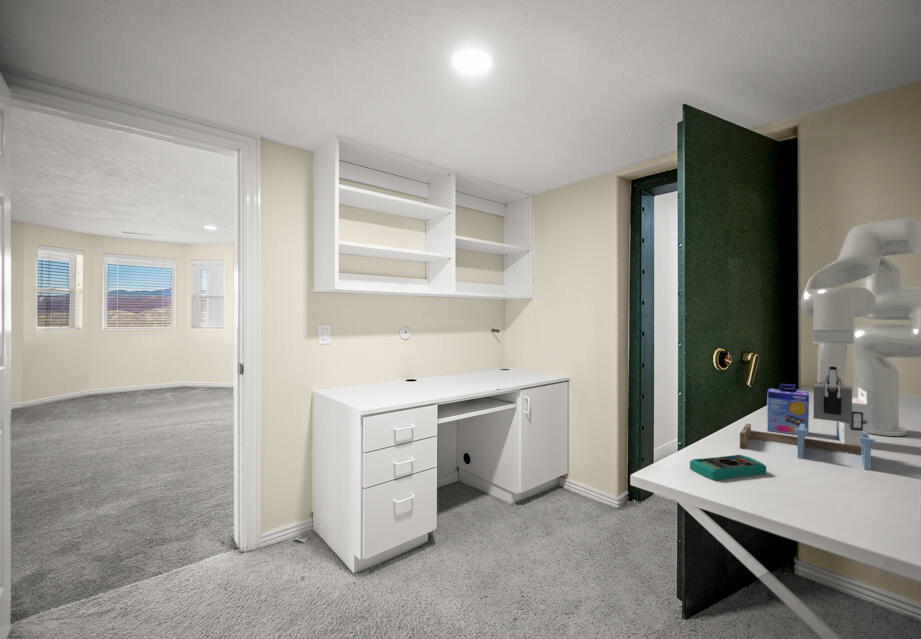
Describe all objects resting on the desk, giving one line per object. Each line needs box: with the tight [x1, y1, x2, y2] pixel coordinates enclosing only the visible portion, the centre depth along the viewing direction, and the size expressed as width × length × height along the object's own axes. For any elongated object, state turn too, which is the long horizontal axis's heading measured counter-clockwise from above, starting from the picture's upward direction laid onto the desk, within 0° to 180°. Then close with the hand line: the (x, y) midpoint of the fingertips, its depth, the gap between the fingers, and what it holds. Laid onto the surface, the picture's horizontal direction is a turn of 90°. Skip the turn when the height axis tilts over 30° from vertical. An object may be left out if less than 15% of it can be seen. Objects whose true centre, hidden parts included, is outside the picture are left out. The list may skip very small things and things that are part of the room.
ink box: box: [836, 387, 867, 446], centre depth 116 cm, size 8×5×15 cm, turn 149°
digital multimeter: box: [689, 454, 767, 481], centre depth 97 cm, size 7×15×3 cm, turn 103°
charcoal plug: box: [813, 383, 853, 423], centre depth 105 cm, size 4×7×8 cm, turn 49°
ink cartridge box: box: [766, 383, 810, 437], centre depth 127 cm, size 10×6×14 cm, turn 54°
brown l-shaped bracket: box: [739, 423, 861, 456], centre depth 110 cm, size 13×25×4 cm, turn 49°
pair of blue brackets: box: [794, 424, 876, 471], centre depth 105 cm, size 12×14×7 cm
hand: (832, 411), depth 105 cm, fingers closed on charcoal plug, 4 cm apart
